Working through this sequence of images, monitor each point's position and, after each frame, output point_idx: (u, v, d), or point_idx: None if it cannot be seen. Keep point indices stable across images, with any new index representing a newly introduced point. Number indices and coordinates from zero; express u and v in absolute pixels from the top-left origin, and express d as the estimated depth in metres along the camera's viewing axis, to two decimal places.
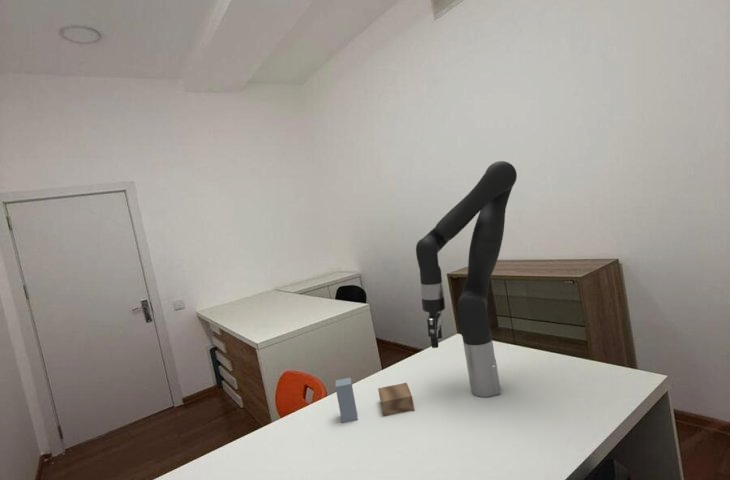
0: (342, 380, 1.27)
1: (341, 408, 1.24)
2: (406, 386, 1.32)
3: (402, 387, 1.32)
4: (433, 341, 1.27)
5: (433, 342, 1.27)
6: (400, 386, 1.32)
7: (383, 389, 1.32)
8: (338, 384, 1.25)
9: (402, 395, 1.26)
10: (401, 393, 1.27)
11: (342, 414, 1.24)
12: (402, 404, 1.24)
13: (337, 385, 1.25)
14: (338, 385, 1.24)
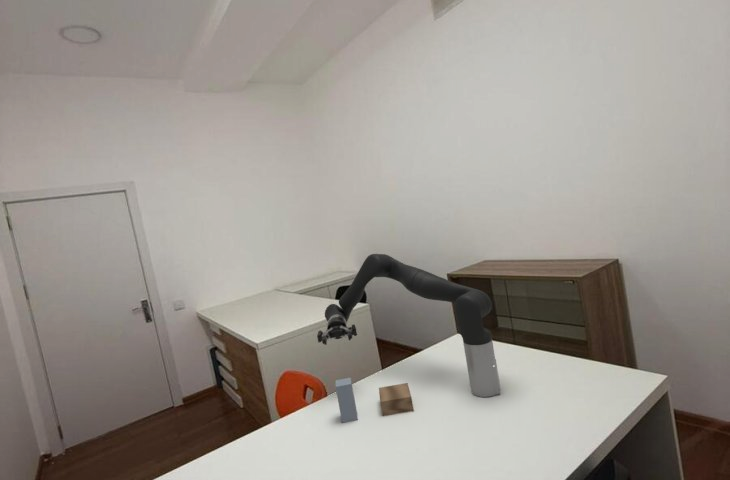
0: (342, 380, 1.27)
1: (341, 408, 1.24)
2: (406, 386, 1.31)
3: (403, 387, 1.31)
4: (322, 340, 1.39)
5: (322, 341, 1.38)
6: (401, 386, 1.32)
7: (384, 388, 1.33)
8: (338, 384, 1.25)
9: (402, 395, 1.26)
10: (400, 394, 1.27)
11: (342, 414, 1.24)
12: (401, 404, 1.24)
13: (337, 385, 1.25)
14: (338, 385, 1.24)
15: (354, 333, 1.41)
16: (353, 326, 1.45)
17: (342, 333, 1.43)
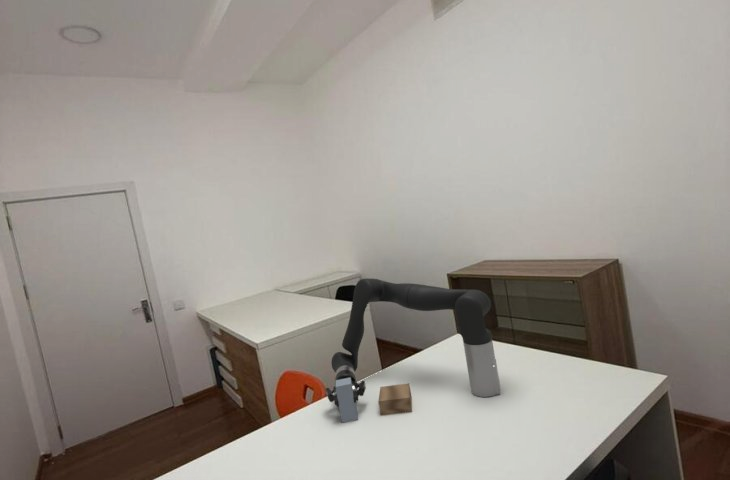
0: (342, 380, 1.27)
1: (341, 408, 1.24)
2: (407, 387, 1.31)
3: (404, 387, 1.31)
4: None
5: None
6: (402, 386, 1.32)
7: (385, 388, 1.33)
8: (338, 384, 1.25)
9: (401, 396, 1.26)
10: (400, 394, 1.27)
11: (342, 414, 1.24)
12: (399, 404, 1.24)
13: (337, 385, 1.25)
14: (338, 385, 1.24)
15: (359, 393, 1.29)
16: (361, 383, 1.32)
17: None
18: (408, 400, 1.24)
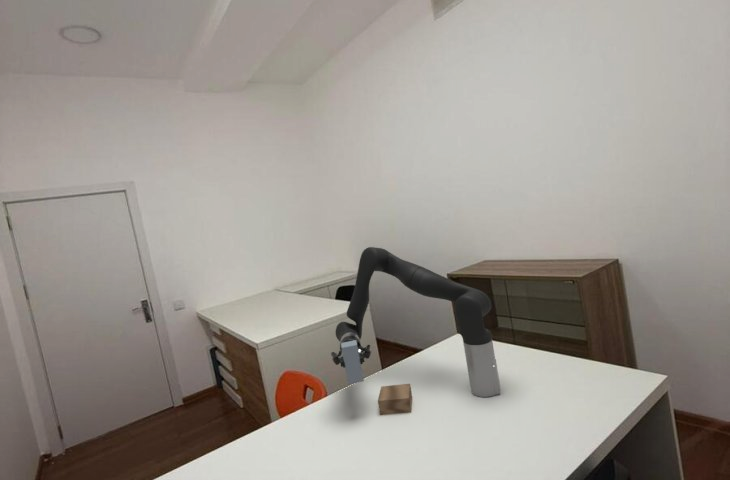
0: (348, 343, 1.27)
1: (347, 369, 1.23)
2: (408, 387, 1.31)
3: (404, 387, 1.31)
4: None
5: (340, 363, 1.25)
6: (402, 386, 1.32)
7: (385, 387, 1.33)
8: (344, 346, 1.24)
9: (400, 396, 1.25)
10: (399, 394, 1.27)
11: (348, 375, 1.24)
12: (398, 405, 1.24)
13: (343, 346, 1.24)
14: (344, 346, 1.24)
15: (365, 356, 1.28)
16: (367, 347, 1.31)
17: None
18: (407, 400, 1.24)
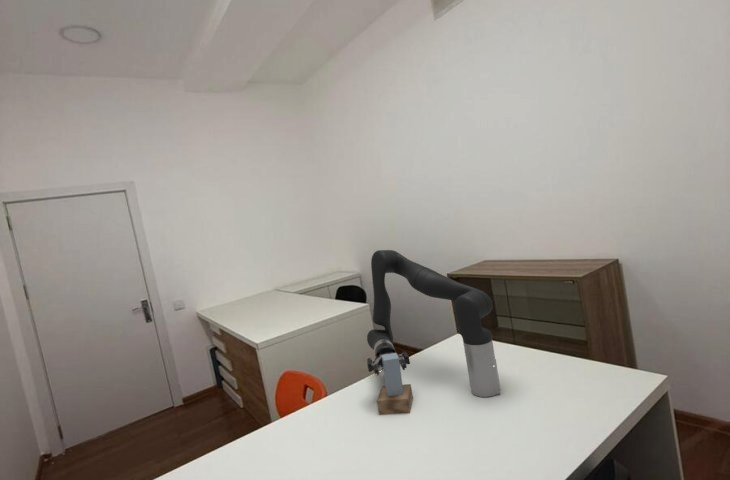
0: (388, 355, 1.29)
1: (388, 382, 1.26)
2: (408, 388, 1.30)
3: (404, 388, 1.31)
4: None
5: (374, 370, 1.28)
6: (403, 387, 1.31)
7: None
8: (386, 358, 1.27)
9: (399, 396, 1.25)
10: (399, 395, 1.27)
11: (388, 388, 1.26)
12: (397, 405, 1.24)
13: (385, 359, 1.26)
14: (386, 359, 1.26)
15: (407, 361, 1.31)
16: (405, 353, 1.35)
17: None
18: (406, 401, 1.23)
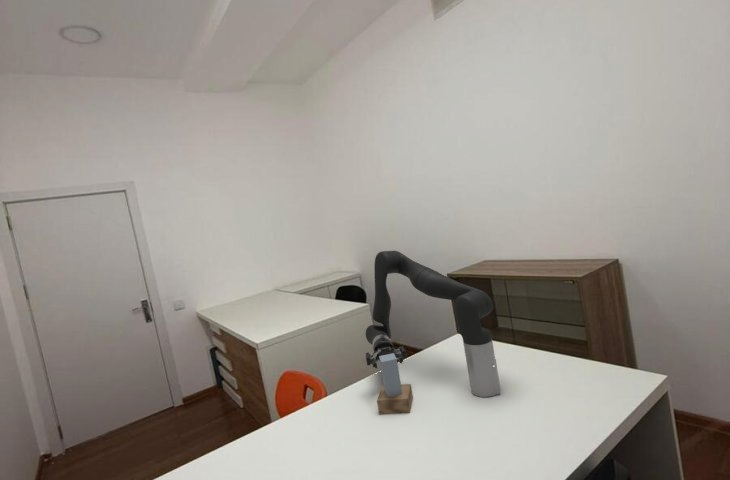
0: (386, 356, 1.29)
1: (386, 383, 1.26)
2: (408, 388, 1.30)
3: (404, 388, 1.31)
4: (372, 363, 1.34)
5: (372, 364, 1.34)
6: (403, 387, 1.32)
7: None
8: (384, 359, 1.26)
9: (399, 396, 1.25)
10: None
11: (387, 389, 1.26)
12: (397, 405, 1.24)
13: (383, 360, 1.26)
14: (384, 360, 1.26)
15: (404, 355, 1.37)
16: (402, 348, 1.41)
17: None
18: (406, 401, 1.23)
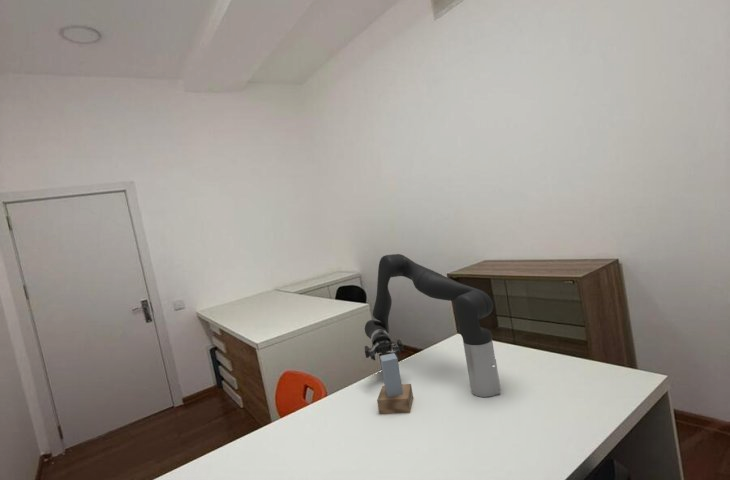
0: (387, 356, 1.29)
1: (387, 382, 1.26)
2: (408, 387, 1.30)
3: (405, 387, 1.31)
4: (370, 356, 1.42)
5: None
6: (403, 386, 1.32)
7: None
8: (384, 359, 1.27)
9: (399, 396, 1.26)
10: None
11: (388, 388, 1.26)
12: (398, 405, 1.24)
13: (383, 360, 1.26)
14: (384, 360, 1.26)
15: (401, 348, 1.44)
16: (399, 341, 1.48)
17: (389, 348, 1.46)
18: (406, 401, 1.23)
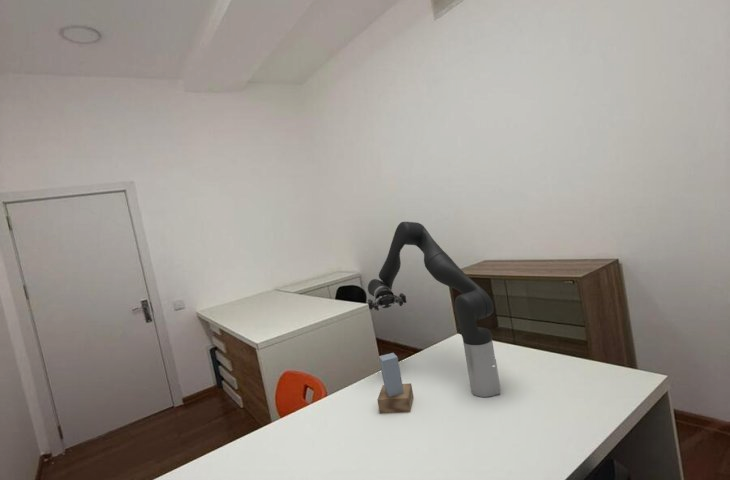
0: (386, 355, 1.29)
1: (388, 382, 1.26)
2: (408, 387, 1.31)
3: (405, 387, 1.31)
4: (374, 307, 1.43)
5: (374, 307, 1.43)
6: (403, 386, 1.32)
7: None
8: (385, 358, 1.27)
9: (400, 395, 1.26)
10: (399, 394, 1.27)
11: (389, 388, 1.26)
12: (398, 404, 1.25)
13: (384, 359, 1.26)
14: (385, 359, 1.26)
15: (404, 300, 1.46)
16: (402, 294, 1.49)
17: (392, 301, 1.48)
18: (406, 400, 1.24)
